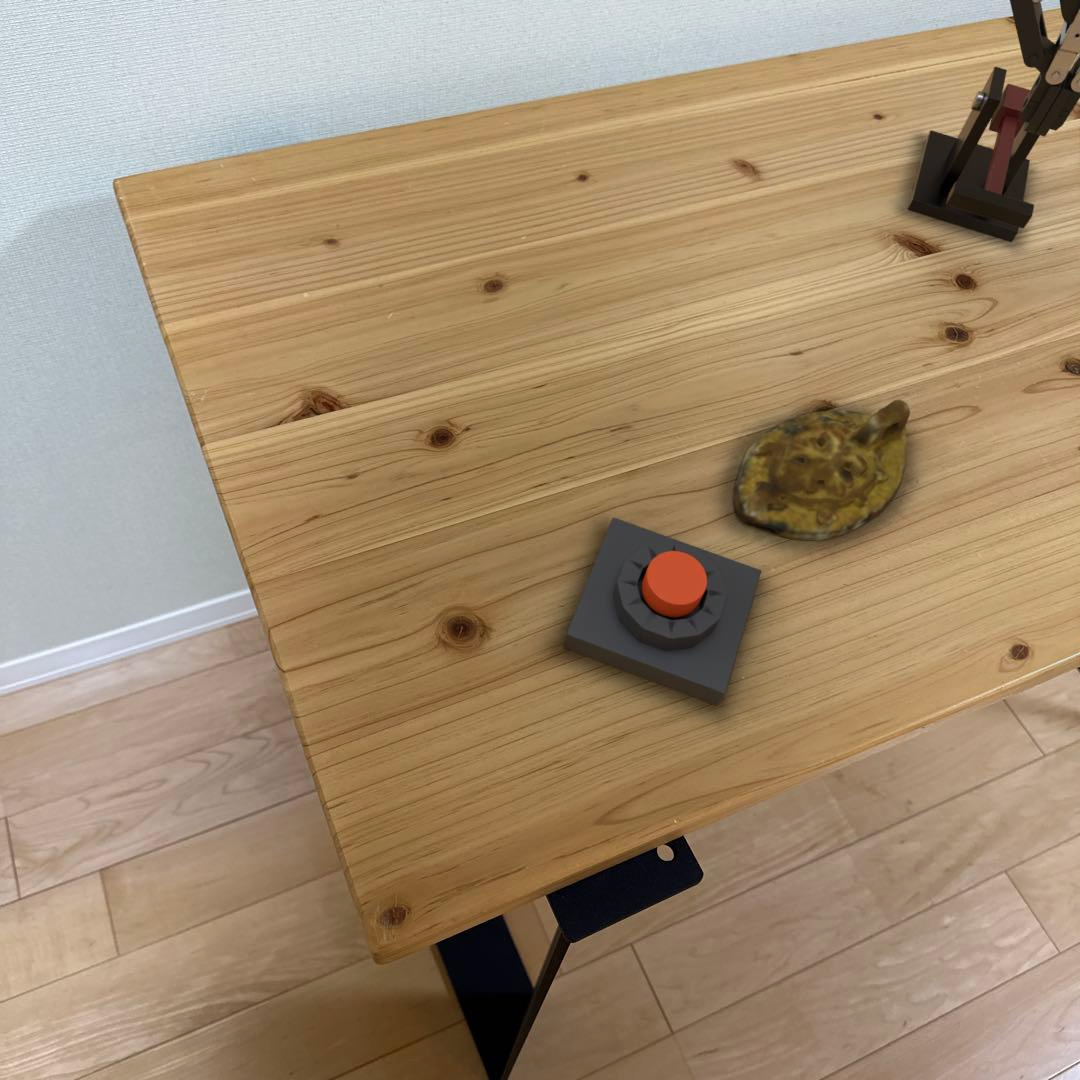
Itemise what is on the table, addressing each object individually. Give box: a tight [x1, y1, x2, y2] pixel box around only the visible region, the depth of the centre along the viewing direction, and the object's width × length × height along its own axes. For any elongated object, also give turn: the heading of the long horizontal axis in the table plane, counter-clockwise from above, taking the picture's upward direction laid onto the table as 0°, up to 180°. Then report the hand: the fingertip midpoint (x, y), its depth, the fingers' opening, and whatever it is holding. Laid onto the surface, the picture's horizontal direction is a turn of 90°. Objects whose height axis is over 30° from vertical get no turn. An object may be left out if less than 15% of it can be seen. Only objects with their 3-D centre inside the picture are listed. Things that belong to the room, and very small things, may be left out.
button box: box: [562, 517, 762, 707], centre depth 60 cm, size 10×9×4 cm
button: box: [642, 551, 707, 617], centre depth 58 cm, size 4×4×2 cm
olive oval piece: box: [733, 398, 911, 541], centre depth 67 cm, size 9×5×15 cm
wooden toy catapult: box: [907, 66, 1041, 243], centre depth 81 cm, size 10×9×10 cm
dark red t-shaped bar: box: [946, 83, 1035, 229], centre depth 76 cm, size 13×6×2 cm, turn 160°
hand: (1035, 126), depth 68 cm, fingers closed
